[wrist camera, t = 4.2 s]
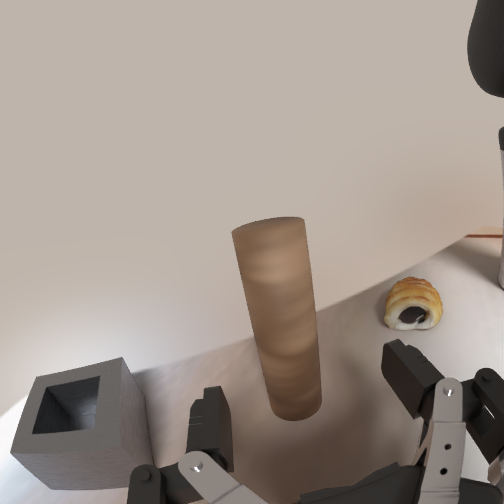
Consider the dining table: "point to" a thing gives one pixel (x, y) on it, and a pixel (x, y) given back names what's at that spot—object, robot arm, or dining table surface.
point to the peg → (282, 312)
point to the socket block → (84, 428)
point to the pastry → (413, 305)
